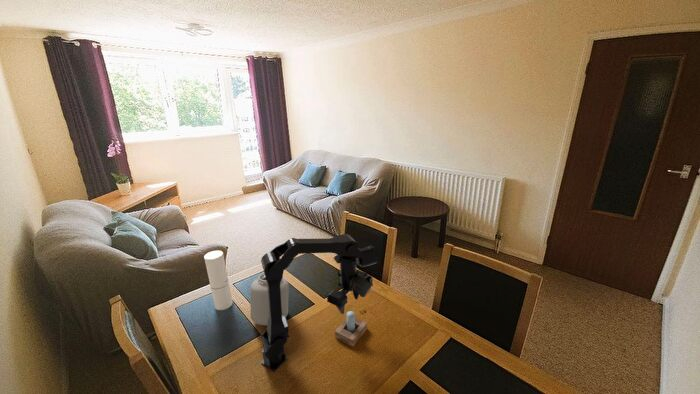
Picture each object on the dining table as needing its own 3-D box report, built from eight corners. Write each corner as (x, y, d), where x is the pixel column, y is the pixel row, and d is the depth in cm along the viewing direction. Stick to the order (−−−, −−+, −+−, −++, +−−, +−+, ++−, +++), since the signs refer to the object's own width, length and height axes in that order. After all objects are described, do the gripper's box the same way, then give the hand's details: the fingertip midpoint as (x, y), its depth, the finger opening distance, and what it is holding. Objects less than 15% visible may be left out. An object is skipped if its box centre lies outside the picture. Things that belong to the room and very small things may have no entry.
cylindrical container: (235, 299, 128) (226, 250, 120) (227, 310, 121) (217, 259, 113) (220, 298, 129) (210, 250, 120) (211, 309, 122) (200, 259, 114)
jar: (270, 297, 128) (263, 248, 120) (299, 303, 124) (294, 253, 116) (244, 327, 111) (234, 273, 103) (276, 336, 107) (268, 280, 99)
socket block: (353, 346, 101) (353, 340, 100) (335, 337, 105) (334, 331, 105) (367, 328, 109) (367, 322, 108) (349, 320, 113) (349, 314, 112)
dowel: (352, 337, 105) (351, 318, 102) (345, 334, 107) (344, 314, 104) (356, 332, 108) (356, 313, 105) (350, 329, 109) (349, 310, 106)
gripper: (352, 291, 87) (354, 331, 92) (381, 263, 102) (380, 299, 107) (324, 280, 93) (327, 318, 98) (355, 255, 108) (356, 289, 113)
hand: (349, 306), depth 104 cm, fingers open, 9 cm apart
